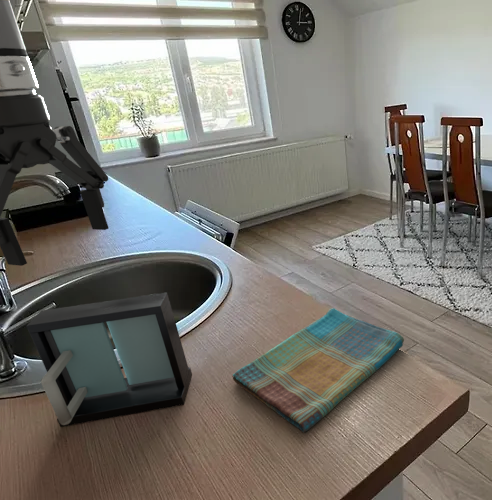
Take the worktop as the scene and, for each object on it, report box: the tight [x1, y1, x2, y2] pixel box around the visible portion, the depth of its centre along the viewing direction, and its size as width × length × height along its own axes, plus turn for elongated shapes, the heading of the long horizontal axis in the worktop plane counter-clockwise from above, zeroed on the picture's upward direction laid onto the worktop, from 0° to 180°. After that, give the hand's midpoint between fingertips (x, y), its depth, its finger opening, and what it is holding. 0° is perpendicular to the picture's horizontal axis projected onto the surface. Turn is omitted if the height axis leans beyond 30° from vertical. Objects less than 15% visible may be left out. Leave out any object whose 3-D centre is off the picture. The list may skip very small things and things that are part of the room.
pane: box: [40, 322, 128, 425], centre depth 57 cm, size 7×8×12 cm
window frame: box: [25, 292, 193, 428], centre depth 60 cm, size 17×7×16 cm, turn 100°
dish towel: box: [232, 307, 405, 433], centre depth 67 cm, size 17×23×2 cm
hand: (63, 245), depth 62 cm, fingers open, 13 cm apart
